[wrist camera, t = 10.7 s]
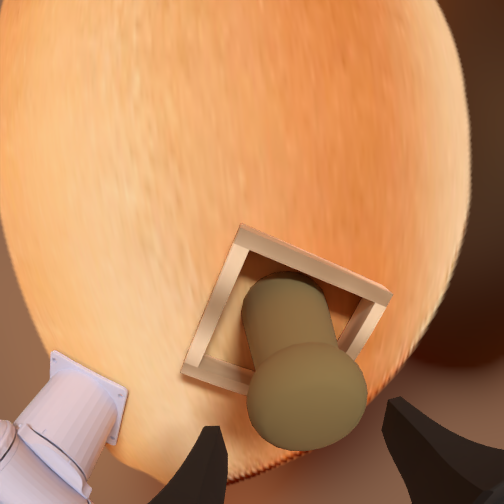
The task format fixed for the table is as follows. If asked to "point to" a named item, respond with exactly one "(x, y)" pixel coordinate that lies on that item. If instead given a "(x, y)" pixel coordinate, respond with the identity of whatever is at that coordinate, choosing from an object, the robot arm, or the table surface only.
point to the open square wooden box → (294, 257)
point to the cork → (298, 366)
